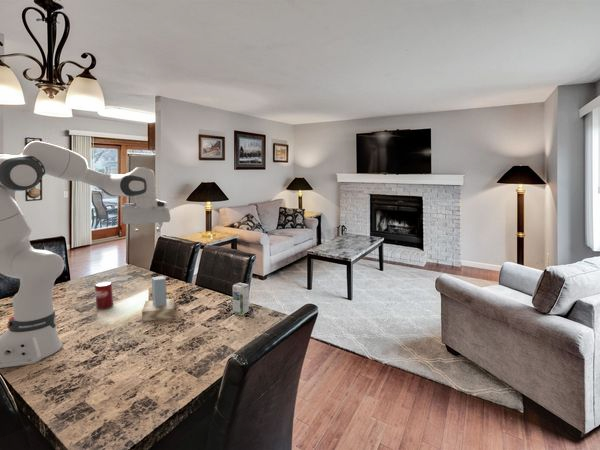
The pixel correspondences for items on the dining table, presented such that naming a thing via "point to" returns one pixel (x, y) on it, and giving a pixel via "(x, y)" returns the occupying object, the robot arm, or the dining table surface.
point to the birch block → (158, 311)
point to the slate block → (159, 291)
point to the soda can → (103, 295)
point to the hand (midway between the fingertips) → (147, 232)
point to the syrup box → (240, 298)
